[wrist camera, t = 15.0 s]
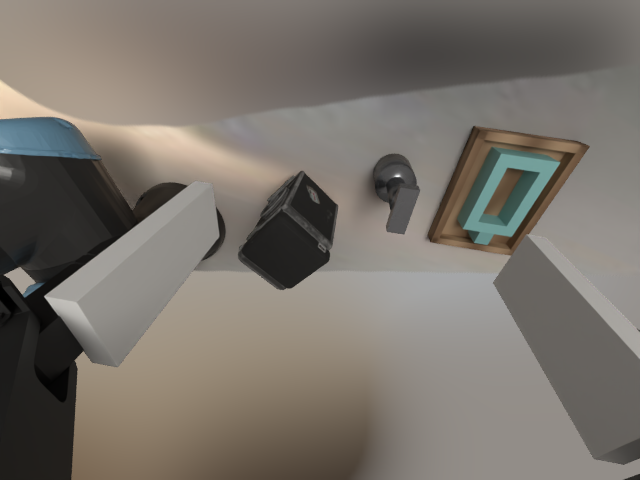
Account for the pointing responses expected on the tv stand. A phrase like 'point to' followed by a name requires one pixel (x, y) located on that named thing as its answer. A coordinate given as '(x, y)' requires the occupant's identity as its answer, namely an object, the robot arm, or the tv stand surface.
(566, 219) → the tv stand surface
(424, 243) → the tv stand surface
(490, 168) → the teal rectangular frame
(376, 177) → the mallet
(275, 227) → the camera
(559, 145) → the tray
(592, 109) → the tv stand surface
